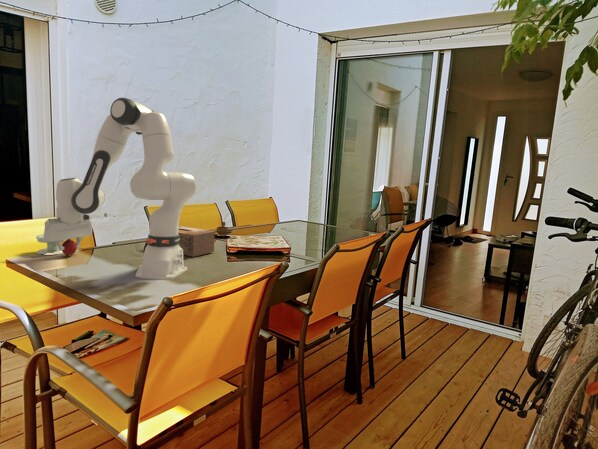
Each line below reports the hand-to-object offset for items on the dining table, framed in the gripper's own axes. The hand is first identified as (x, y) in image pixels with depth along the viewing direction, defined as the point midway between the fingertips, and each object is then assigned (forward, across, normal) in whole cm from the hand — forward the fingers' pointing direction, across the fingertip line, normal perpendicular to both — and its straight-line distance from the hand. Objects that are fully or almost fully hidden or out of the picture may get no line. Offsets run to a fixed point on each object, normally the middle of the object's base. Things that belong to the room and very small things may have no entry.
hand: (69, 249), depth 182 cm
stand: (+3, 0, +11) cm, 11 cm away
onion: (+3, 0, 0) cm, 3 cm away
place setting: (+4, +92, -15) cm, 94 cm away
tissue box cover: (+4, +41, -26) cm, 49 cm away
